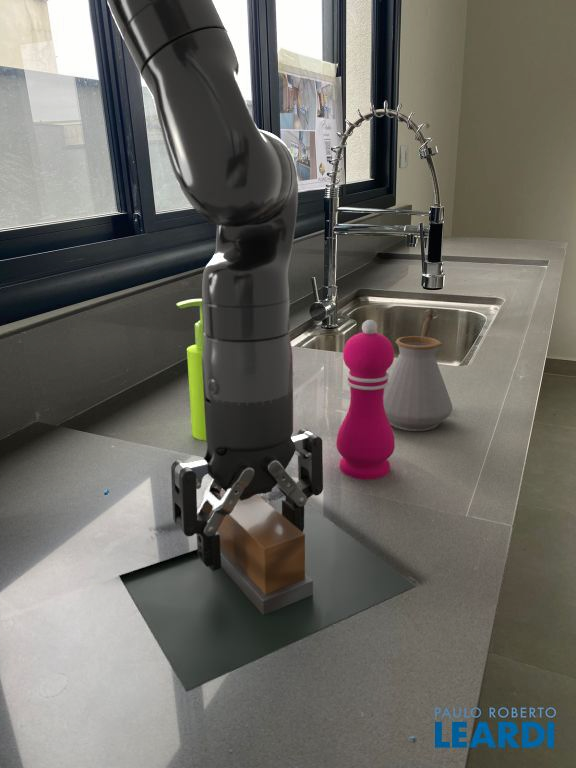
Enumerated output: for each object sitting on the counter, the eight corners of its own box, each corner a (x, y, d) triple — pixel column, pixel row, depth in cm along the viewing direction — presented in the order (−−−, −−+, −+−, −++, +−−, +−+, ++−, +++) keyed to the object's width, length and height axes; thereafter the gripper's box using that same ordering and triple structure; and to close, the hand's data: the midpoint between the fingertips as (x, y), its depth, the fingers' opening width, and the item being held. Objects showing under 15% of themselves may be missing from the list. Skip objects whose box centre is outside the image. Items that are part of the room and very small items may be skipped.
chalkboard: (186, 702, 43) (186, 691, 43) (106, 561, 59) (105, 553, 59) (415, 595, 54) (416, 586, 54) (295, 501, 70) (295, 493, 70)
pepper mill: (396, 465, 79) (404, 315, 73) (389, 491, 72) (397, 328, 66) (341, 459, 81) (344, 312, 75) (330, 484, 74) (332, 325, 68)
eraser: (263, 615, 50) (262, 553, 48) (203, 546, 60) (200, 492, 58) (313, 594, 53) (313, 535, 51) (247, 531, 62) (246, 479, 61)
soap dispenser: (182, 428, 91) (173, 297, 85) (227, 423, 93) (222, 294, 87) (188, 444, 86) (179, 305, 80) (235, 438, 88) (230, 301, 82)
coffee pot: (446, 440, 86) (455, 338, 82) (368, 430, 90) (371, 332, 85) (459, 394, 105) (467, 309, 101) (394, 387, 109) (398, 305, 104)
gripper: (295, 360, 57) (296, 512, 62) (151, 386, 50) (164, 555, 55) (343, 381, 51) (339, 547, 56) (186, 414, 44) (198, 601, 49)
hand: (253, 551), depth 56 cm, fingers open, 8 cm apart
